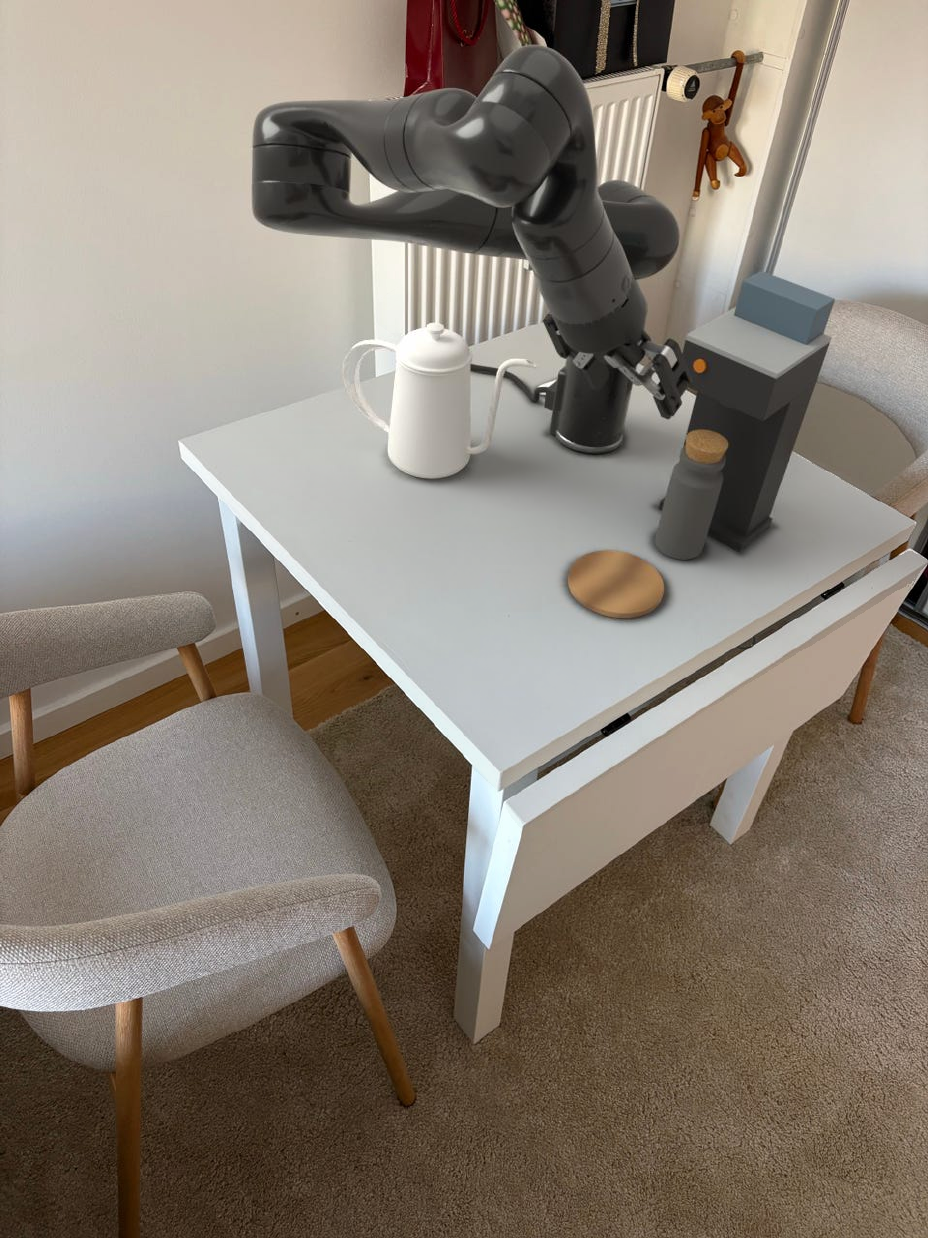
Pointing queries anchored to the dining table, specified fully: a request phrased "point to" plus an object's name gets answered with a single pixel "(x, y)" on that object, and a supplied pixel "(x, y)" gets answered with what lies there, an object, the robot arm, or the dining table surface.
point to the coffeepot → (430, 401)
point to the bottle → (692, 495)
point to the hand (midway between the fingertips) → (635, 396)
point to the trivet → (616, 584)
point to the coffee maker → (756, 393)
